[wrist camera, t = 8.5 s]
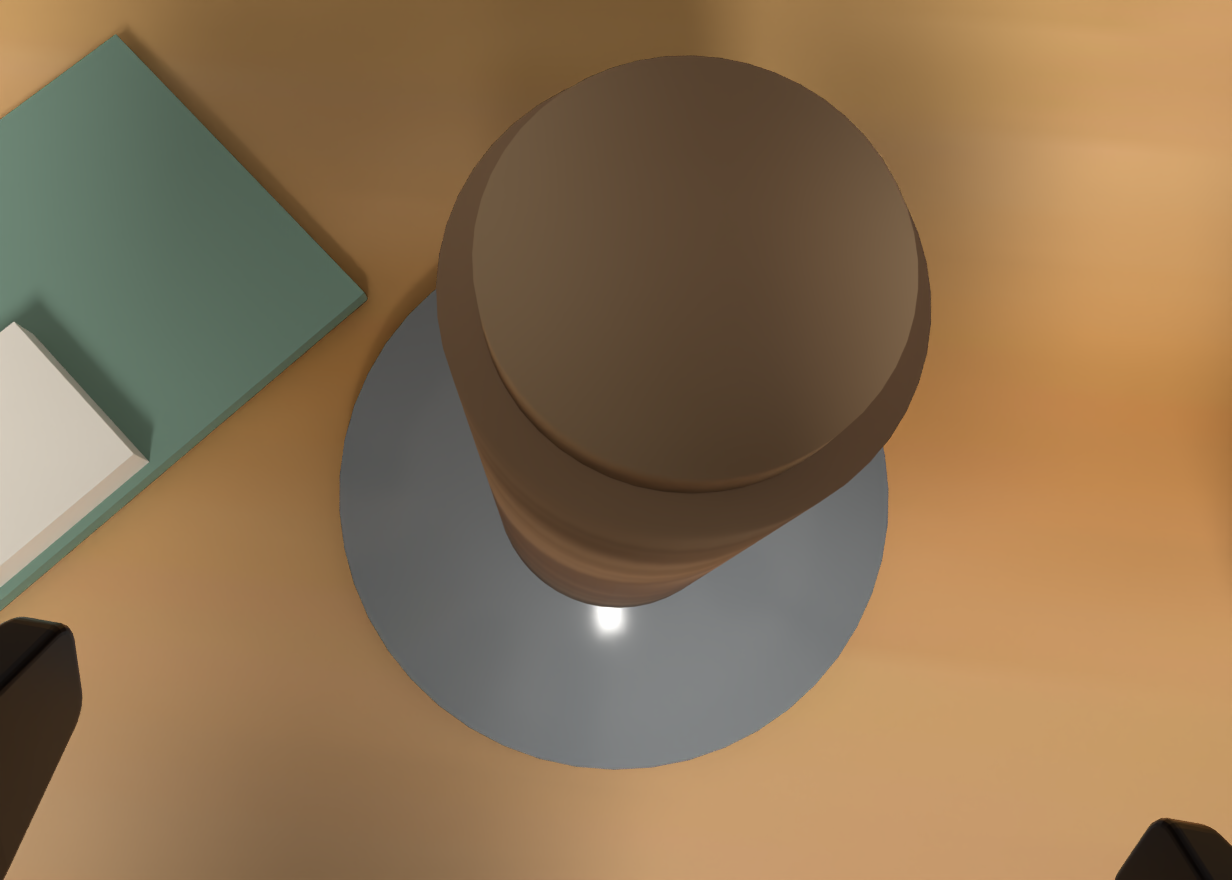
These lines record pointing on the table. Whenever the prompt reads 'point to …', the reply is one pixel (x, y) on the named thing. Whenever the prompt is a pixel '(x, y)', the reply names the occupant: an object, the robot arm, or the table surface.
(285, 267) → the mat
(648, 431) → the pepper mill
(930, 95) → the table surface
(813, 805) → the table surface
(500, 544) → the trivet
